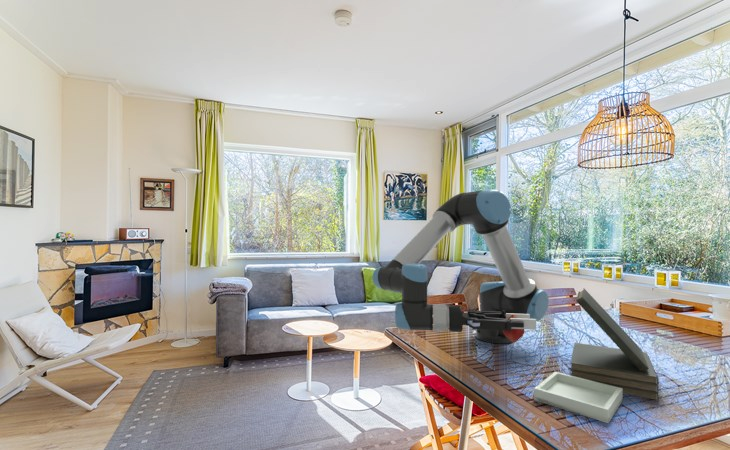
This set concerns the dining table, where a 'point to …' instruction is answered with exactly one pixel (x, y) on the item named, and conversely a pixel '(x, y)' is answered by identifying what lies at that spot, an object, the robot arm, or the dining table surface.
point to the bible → (613, 357)
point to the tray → (580, 396)
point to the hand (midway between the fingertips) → (532, 321)
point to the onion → (513, 332)
